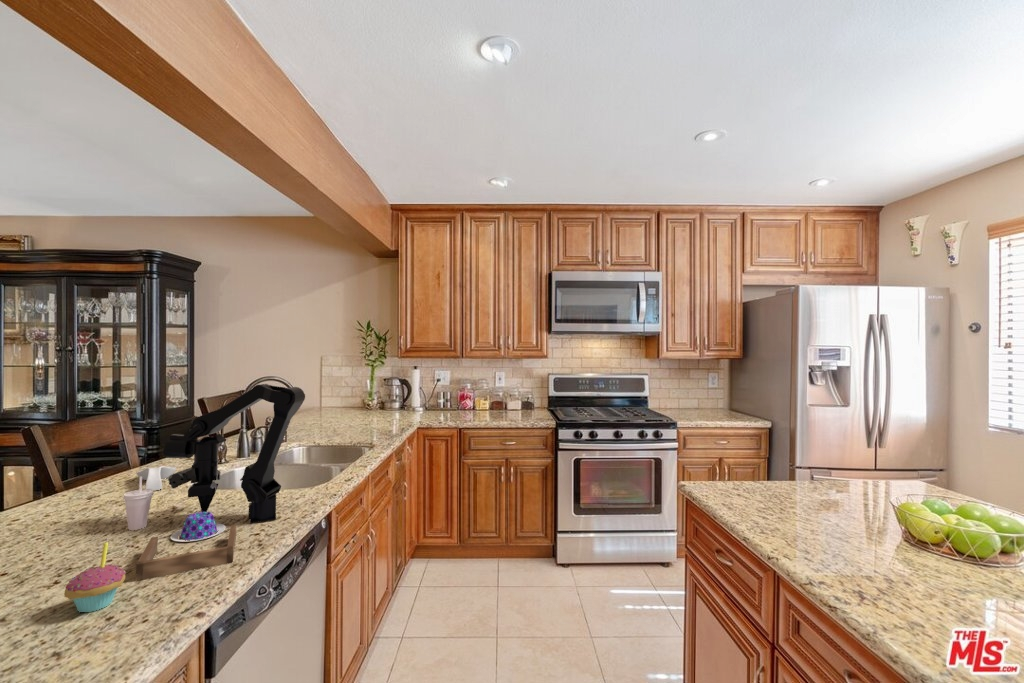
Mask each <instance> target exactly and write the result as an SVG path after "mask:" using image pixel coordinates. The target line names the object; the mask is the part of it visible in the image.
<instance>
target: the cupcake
mask: <svg viewBox="0 0 1024 683" xmlns="http://www.w3.org/2000/svg"><path fill="white" fill-rule="evenodd" d="M108 540H109V538H108V537H107V538H106V540H105V542H104V543H103V546H102V553H101V558H100V565H99V566H95V567H94V566H91V567H89V568H86V569H85V570H83V571H81V572H80V573H78V574H77V575H76V576H74V577H73V578H71V579H69V581H68V583H67V584H66V586H65V589H64V597H65V598H67V599H70V600H72V601H73V602H74V605H75V606H76V610H77V611H79V613H80V612H89V613H92V612H91V611H94V612H97V611H100V610H102V609H101V608H103V609H105V608H106V606H107V607H108V606H109V604H110V603H111V604H112V602H113V600H114V598H115V595H116V593H117V590H118V588H119V587H121V586H122V584H123V583H124V581H125V580H126V571H125V569H123V568H122V567H120V566H118V565H112V564H106V561H107V560H106V559H107V552H108V546H109V542H108ZM111 604H110V605H111ZM104 607H105V608H104ZM99 609H100V610H99ZM96 610H97V611H96Z"/></svg>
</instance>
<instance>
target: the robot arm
mask: <svg viewBox="0 0 1024 683" xmlns="http://www.w3.org/2000/svg"><path fill="white" fill-rule="evenodd" d="M262 400H264V401H266V402H269V403H273V407H272V408H273V418H272V419H271V420H272V421H271V423H270V426H269V428H268V431H267V433H266V435H265V438H264V441H263V444H262V446H261V448H260V451H259V454H258V457H257V460H256V461H255V462H254V463H251V464H249V465H247V466H245V468H244V472H243V475H242V477H241V478H240V479H239V481H240V482H241V483H240V484H241V485H240V488H241V489H242V491H243V492H244V495H245V497H246V500H247V502H248V503H249V504H248V521H249V524H251V525H252V524H257V523H258V524H259V523H263V522H264V523H265V522H269V521H270V522H271V521H275V520H277V494H279V493H280V491H281V488H282V485H281V484H280V483H279V482H278V481H277V480H276V479H274V476H275V472H276V471H275V469H276V468H275V461H276V459H277V456H278V453H279V451H280V449H281V445H282V444H283V440H284V438H285V435H286V433H287V430H288V427H289V425H290V423H291V421H292V419H293V417H294V416H295V415H296V413H297V412H298V411H299V410H300V408H301V406H302V405H303V403H304V402H305V400H306V394H305V392H304V390H303V389H302V388H300V387H298V386H292V387H284V386H277V385H272V384H268V383H261V384H260V383H259V384H256V385H254V386H253V387H252V388H251V389H250V390H247V391H246V392H245V393H243V394H241V395H239V396H238V397H237V398H235V399H232V400H231V401H230V402H228V403H227V404H225V405H224V406H222V407H220V408H218V409H215V410H213V411H210V412H207V413H205V414H202V415H200V416H197V417H195V418H193V420H191V425H190V427H189V428H188V429H187V431H186V432H185V434H181V433H173V434H170V435H169V439H168V440H167V441H166V443H165V445H164V447H163V454H164V457H166V458H167V459H191V458H192V457H193V462H192V465H191V466H190V467H188V468H185V469H183V470H180V471H177V472H174V473H173V474H172V475H170V477H168V478H167V479H168V485H169V486H170V487H171V489H176V488H178V487H179V486H181V485H182V486H183V485H185V484H187V483H189V482H190V484H191V485H190V486H189V488H188V489H187V498H197V499H198V504H199V506H200V510H201V511H200V512H208V510H209V508H210V505H211V503H212V501H213V499H214V497H215V495H216V492H217V489H218V487H219V483H216V482H215V481H220V480H221V470H219V469H218V466H219V444H222V443H224V442H226V441H227V439H226V437H224V436H222V434H220V433H218V432H220V431H222V429H224V428H225V427H226V426H227V425H228V424H229V422H230V421H231V420H232V419H233V418H235V417H236V416H238V415H239V414H241V413H243V412H244V411H246V410H247V409H250V408H251V407H252V406H254V405H255V404H257V403H259V402H260V401H262ZM216 433H218V434H216ZM212 434H214V436H209V435H212ZM199 438H201V439H199Z"/></svg>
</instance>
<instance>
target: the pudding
mask: <svg viewBox="0 0 1024 683" xmlns="http://www.w3.org/2000/svg"><path fill="white" fill-rule="evenodd" d="M218 530H219V531H218ZM225 530H226V525H225V524H223V523H217V522H216V521H215V517H214V514H213V513H212V512H211V511H207V512H202V511H199V512H195V513H193V514H189V515H188V516H187V517H186V518H185V520H184V523H183V527H182V529H180V530H177V531H176V532H173V533H172V534H171V535H170V539H171V540H172V541H173V542H181V543H182V542H183V543H184V542H186V543H188V542H196V541H202V540H206V539H208V538H209V539H210V538H212V537H214V536H217V535H219V534H221V533H223V532H224V531H225ZM217 531H218V532H217ZM215 532H217V533H216V534H215ZM180 534H181V535H180ZM179 535H180V537H179V538H182V539H181V540H179V539H178V536H179ZM211 535H212V536H211ZM183 538H184V539H183ZM185 540H186V541H185ZM187 540H190V541H187Z"/></svg>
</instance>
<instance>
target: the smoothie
mask: <svg viewBox="0 0 1024 683" xmlns="http://www.w3.org/2000/svg"><path fill="white" fill-rule="evenodd" d="M138 480H139V483H138V484H139V486H138V489H136V490H131V491H127V492H125V493H124V494H123V496H122V499H123V500H124V504H125V512H126V520H127V528H128V529H129V530H128V531H130V530H135V531H137V530H136V529H140V530H142V529H141V528H143V527H145V528H147V524H148V519H149V512H150V509H151V508H150V507H151V502H152V497H153V495H154V491H153V490H152V489H145V488H143V479H142V476H141V477H139V479H138ZM143 529H144V528H143Z"/></svg>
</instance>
